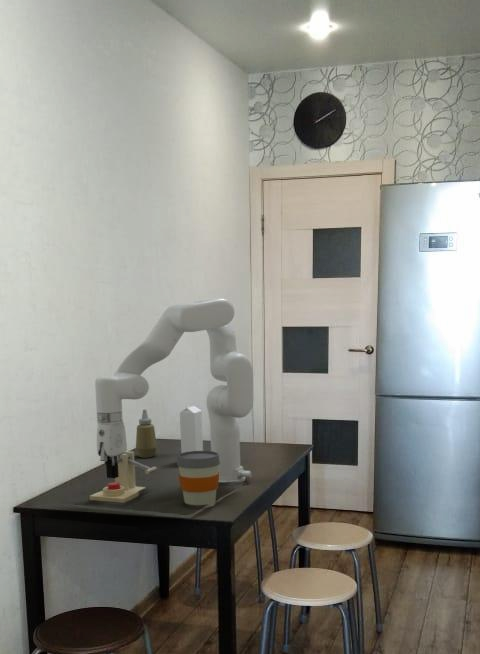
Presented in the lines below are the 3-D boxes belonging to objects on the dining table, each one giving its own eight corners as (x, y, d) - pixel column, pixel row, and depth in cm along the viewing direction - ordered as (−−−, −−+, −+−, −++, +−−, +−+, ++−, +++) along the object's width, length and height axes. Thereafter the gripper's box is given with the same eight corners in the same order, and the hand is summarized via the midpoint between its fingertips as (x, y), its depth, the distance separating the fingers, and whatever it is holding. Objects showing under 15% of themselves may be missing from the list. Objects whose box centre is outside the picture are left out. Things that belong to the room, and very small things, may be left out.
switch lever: (156, 473, 266) (157, 466, 265) (148, 476, 261) (150, 469, 260) (123, 458, 269) (125, 451, 269) (115, 462, 265) (117, 455, 264)
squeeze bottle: (161, 455, 325) (159, 408, 322) (148, 459, 318) (146, 411, 315) (145, 453, 329) (143, 407, 326) (131, 457, 323) (129, 410, 319)
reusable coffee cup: (226, 507, 247) (224, 457, 245) (184, 511, 244) (181, 460, 241) (215, 497, 259) (213, 449, 257) (174, 501, 256) (172, 452, 253)
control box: (139, 498, 260) (138, 486, 260) (123, 506, 252) (123, 492, 251) (105, 495, 265) (105, 483, 264) (89, 502, 257) (88, 490, 256)
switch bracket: (146, 490, 270) (144, 451, 268) (133, 496, 263) (131, 456, 260) (119, 488, 274) (116, 449, 272) (105, 494, 267) (103, 454, 264)
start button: (122, 488, 259) (121, 482, 259) (115, 491, 256) (115, 485, 255) (112, 487, 260) (111, 481, 260) (105, 490, 257) (105, 484, 257)
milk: (203, 461, 312) (201, 402, 308) (196, 464, 307) (194, 404, 303) (188, 460, 315) (186, 401, 311) (181, 463, 309) (179, 403, 305)
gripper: (107, 421, 246) (110, 483, 249) (133, 414, 259) (136, 473, 262) (85, 420, 249) (88, 482, 252) (112, 413, 262) (115, 471, 265)
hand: (112, 477), depth 257 cm, fingers closed
